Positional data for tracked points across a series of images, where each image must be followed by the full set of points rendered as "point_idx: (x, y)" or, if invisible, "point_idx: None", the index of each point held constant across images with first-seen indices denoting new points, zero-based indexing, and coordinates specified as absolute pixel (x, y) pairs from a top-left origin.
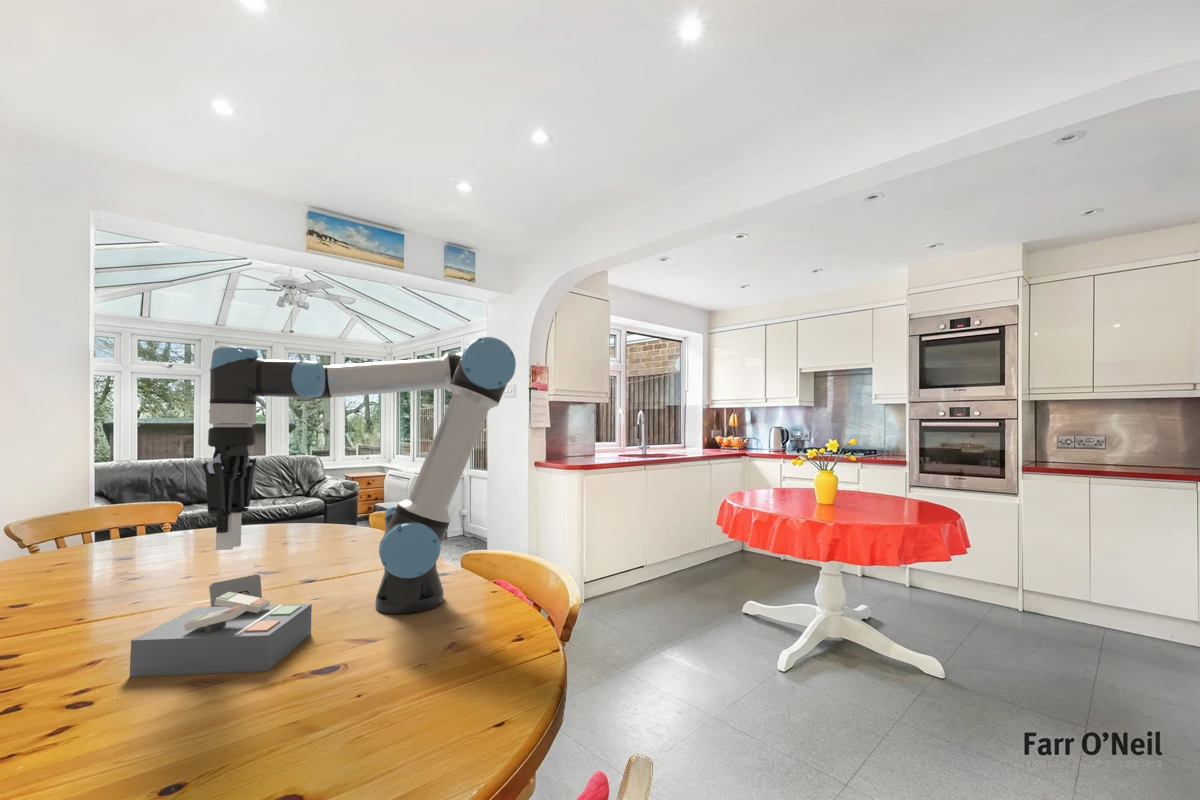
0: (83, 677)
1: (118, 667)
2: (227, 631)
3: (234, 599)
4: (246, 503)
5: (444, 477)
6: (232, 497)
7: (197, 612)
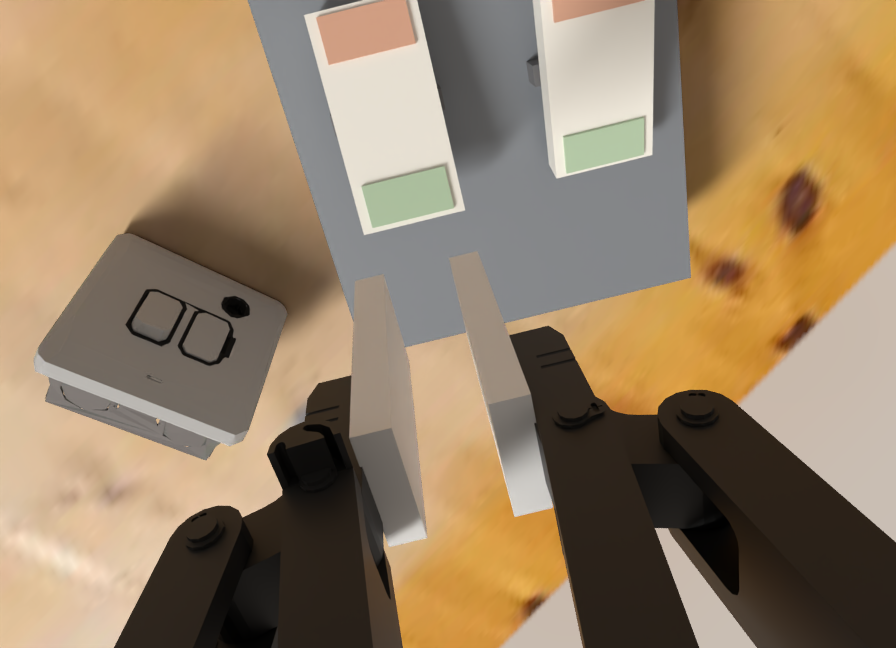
0: (645, 349)
1: (585, 323)
2: None
3: (421, 142)
4: (236, 534)
5: None
6: (565, 552)
7: (415, 302)
